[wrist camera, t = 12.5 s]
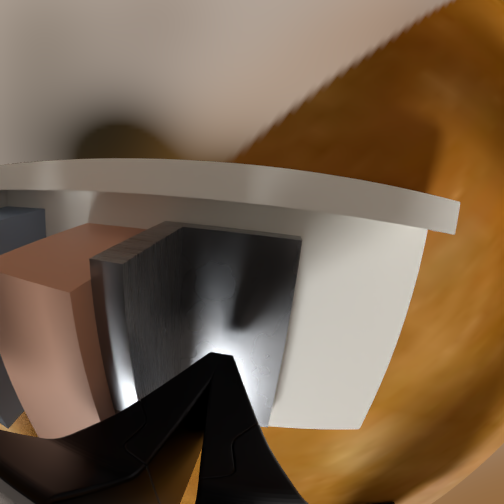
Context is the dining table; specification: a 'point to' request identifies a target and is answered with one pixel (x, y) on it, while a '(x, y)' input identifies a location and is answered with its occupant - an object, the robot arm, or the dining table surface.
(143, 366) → the bookend
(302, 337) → the shelf
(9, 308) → the book block
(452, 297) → the dining table surface
